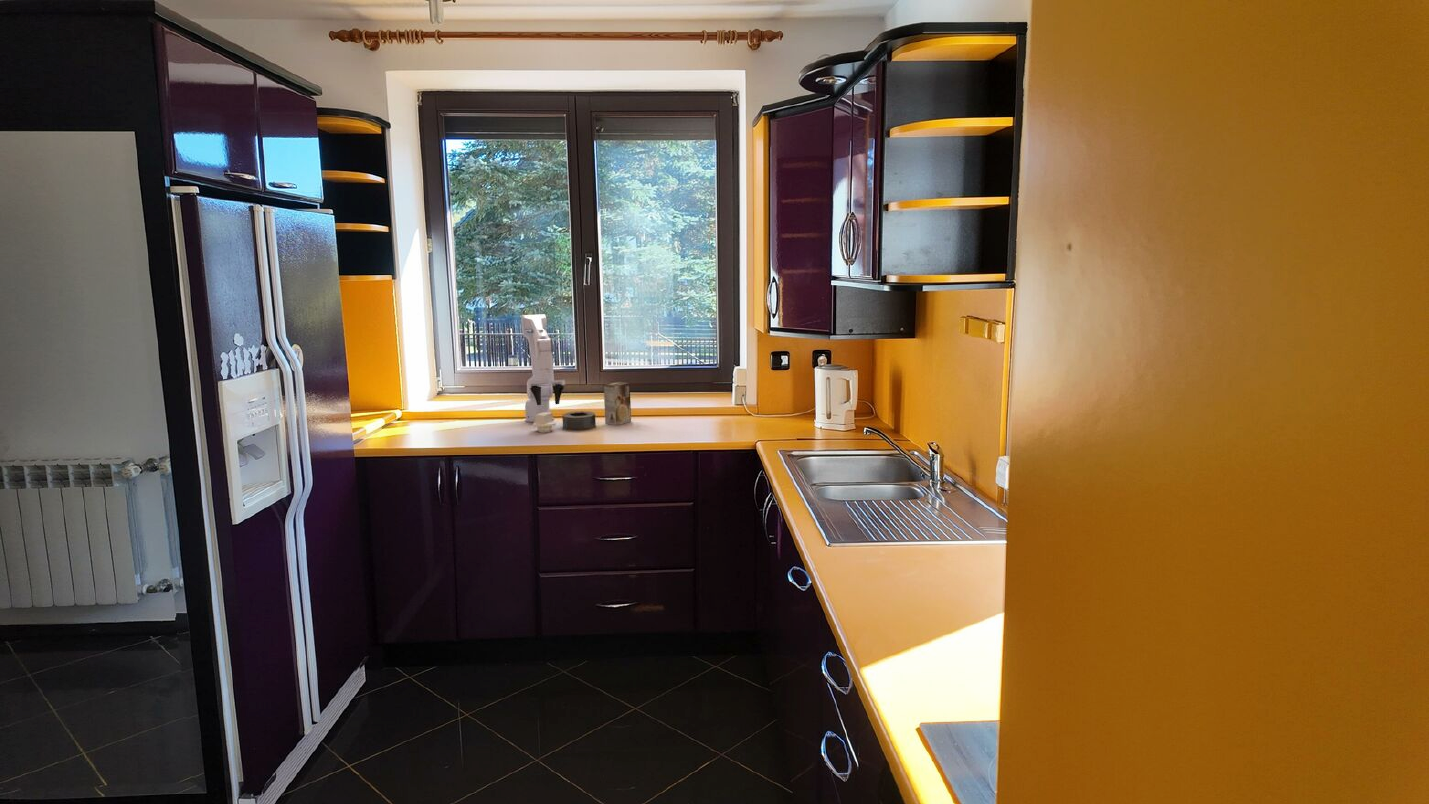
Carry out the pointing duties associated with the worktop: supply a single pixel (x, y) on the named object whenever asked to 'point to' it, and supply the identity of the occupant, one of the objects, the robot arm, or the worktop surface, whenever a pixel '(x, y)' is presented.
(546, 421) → the cap
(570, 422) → the dark grey thick ring
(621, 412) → the coffee box
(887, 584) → the worktop surface
